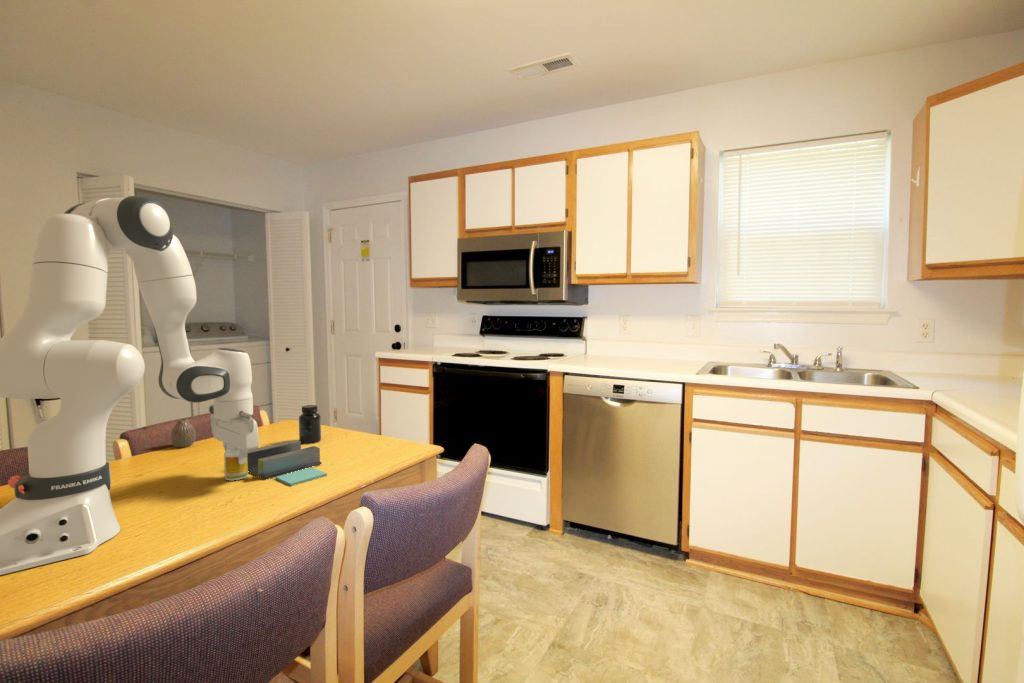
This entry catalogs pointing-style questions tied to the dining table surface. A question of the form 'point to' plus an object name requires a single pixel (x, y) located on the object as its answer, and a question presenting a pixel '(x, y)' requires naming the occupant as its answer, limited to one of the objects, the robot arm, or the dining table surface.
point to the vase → (183, 434)
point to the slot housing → (281, 459)
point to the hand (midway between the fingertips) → (236, 460)
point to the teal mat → (300, 476)
